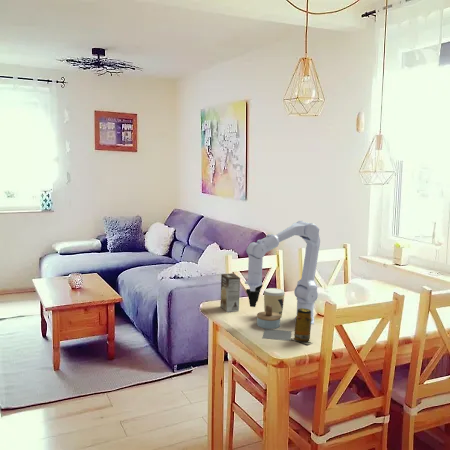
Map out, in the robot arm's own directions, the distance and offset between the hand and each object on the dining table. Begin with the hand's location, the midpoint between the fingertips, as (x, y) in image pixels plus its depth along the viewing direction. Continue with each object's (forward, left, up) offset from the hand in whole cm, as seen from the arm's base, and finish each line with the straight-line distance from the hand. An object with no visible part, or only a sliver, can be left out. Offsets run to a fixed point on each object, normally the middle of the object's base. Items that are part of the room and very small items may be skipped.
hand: (253, 304), depth 199 cm
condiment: (+9, +21, -10) cm, 25 cm away
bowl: (-5, +6, -10) cm, 13 cm away
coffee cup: (-18, +7, -11) cm, 22 cm away
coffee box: (-24, -14, -11) cm, 30 cm away
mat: (+6, +11, -10) cm, 16 cm away
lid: (-5, +6, -7) cm, 10 cm away
